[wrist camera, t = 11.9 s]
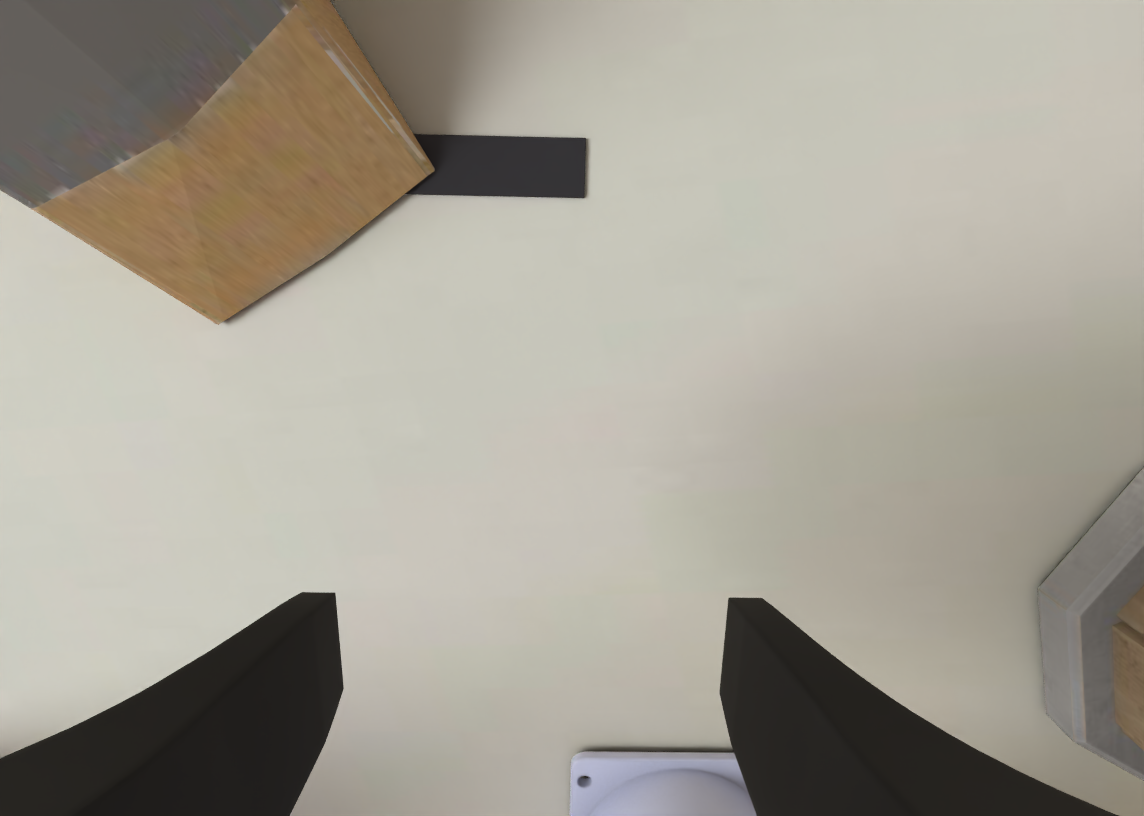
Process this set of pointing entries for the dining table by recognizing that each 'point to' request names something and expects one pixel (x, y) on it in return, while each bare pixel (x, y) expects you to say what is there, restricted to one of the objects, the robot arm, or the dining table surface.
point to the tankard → (1099, 635)
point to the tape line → (503, 166)
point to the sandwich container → (199, 137)
